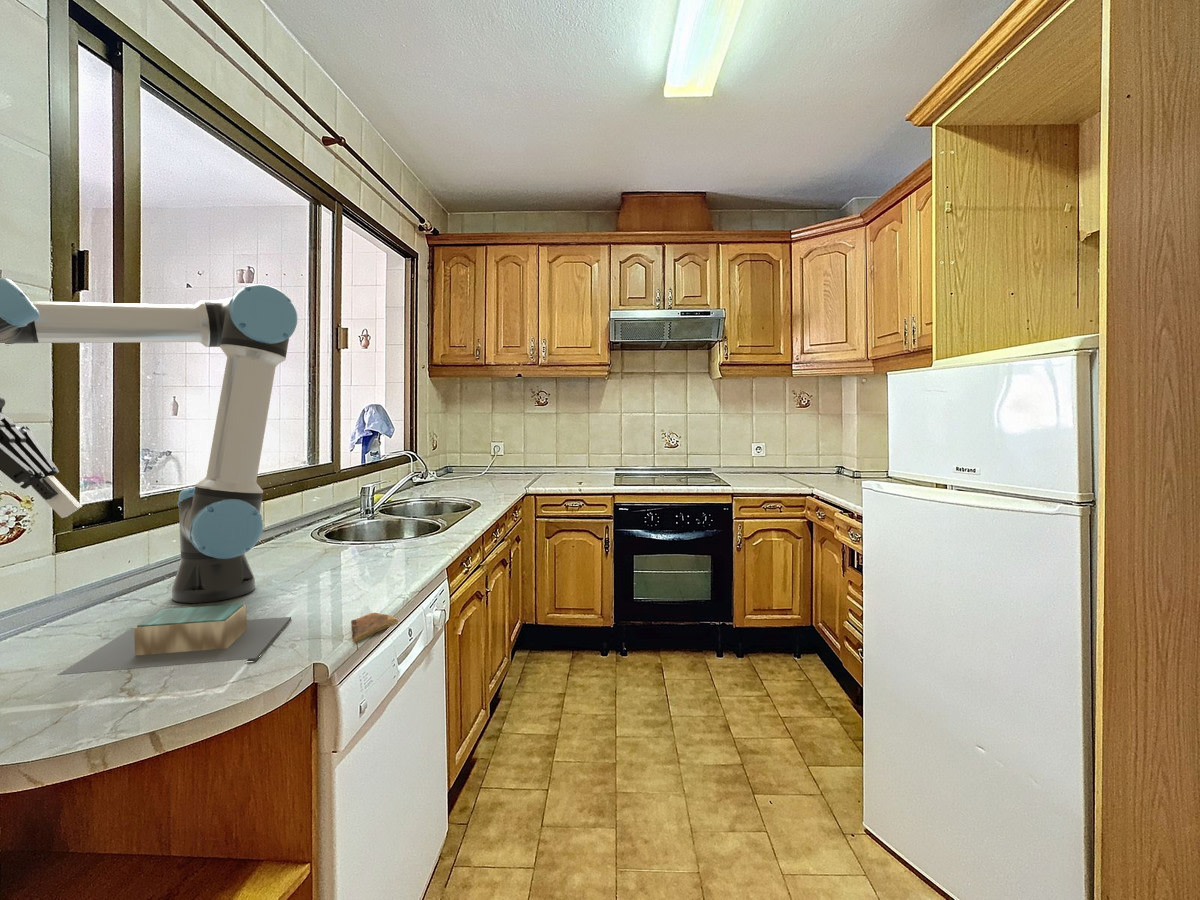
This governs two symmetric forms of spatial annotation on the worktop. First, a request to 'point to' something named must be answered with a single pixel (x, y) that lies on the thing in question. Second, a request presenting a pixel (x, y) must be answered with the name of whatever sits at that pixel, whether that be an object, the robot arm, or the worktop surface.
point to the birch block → (190, 629)
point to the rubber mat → (123, 652)
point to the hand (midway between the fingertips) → (72, 512)
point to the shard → (370, 625)
